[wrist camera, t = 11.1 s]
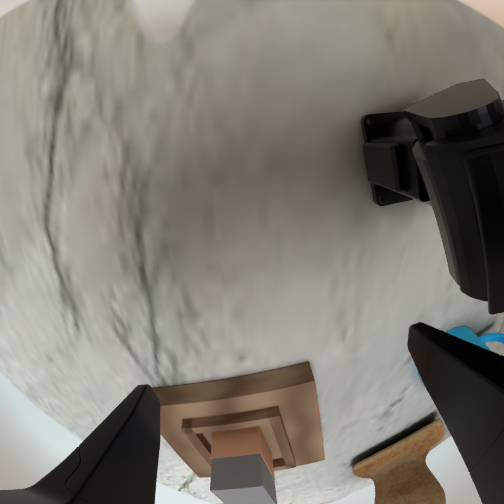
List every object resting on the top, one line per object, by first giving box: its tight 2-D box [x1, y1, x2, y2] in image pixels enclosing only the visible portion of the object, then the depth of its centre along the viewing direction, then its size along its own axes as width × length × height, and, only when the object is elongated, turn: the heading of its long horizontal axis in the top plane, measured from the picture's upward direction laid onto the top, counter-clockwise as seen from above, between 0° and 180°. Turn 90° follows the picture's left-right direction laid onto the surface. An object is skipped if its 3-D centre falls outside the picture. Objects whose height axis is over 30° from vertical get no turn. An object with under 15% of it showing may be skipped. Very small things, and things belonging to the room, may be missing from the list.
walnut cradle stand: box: [152, 362, 325, 477], centre depth 26 cm, size 16×16×4 cm
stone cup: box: [353, 418, 446, 504], centre depth 27 cm, size 15×12×15 cm
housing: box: [210, 426, 277, 504], centre depth 22 cm, size 7×4×7 cm, turn 14°
